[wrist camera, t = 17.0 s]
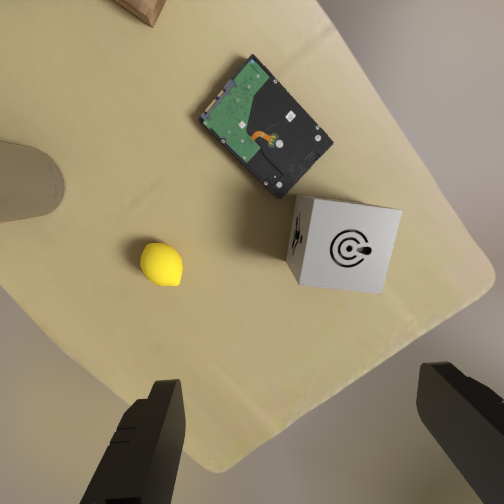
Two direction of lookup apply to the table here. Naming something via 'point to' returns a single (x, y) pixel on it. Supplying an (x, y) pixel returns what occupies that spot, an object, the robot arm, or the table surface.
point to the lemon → (161, 264)
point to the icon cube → (341, 243)
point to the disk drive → (265, 128)
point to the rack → (144, 9)
